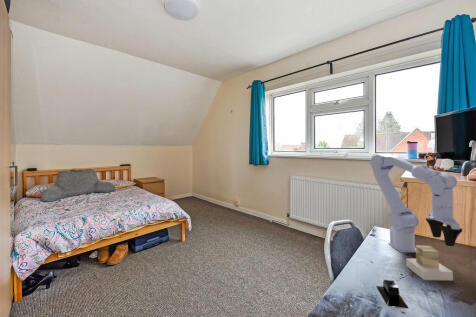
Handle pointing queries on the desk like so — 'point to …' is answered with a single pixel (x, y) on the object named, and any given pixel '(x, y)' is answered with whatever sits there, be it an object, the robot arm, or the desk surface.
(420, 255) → the oak block
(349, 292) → the desk surface
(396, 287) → the black mounting plate
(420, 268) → the base
